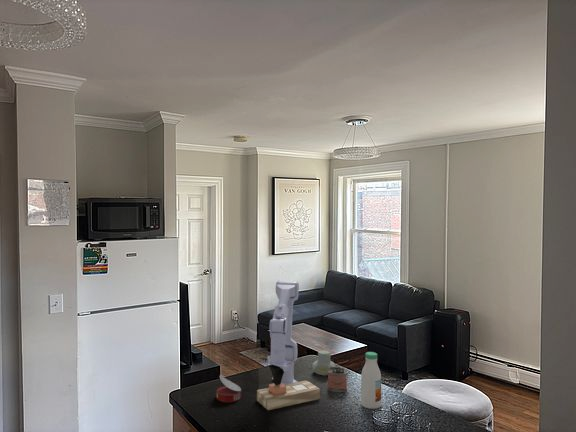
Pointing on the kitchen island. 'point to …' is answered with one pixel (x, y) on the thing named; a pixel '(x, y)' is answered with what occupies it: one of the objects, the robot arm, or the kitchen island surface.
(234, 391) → the canned food
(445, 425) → the kitchen island surface
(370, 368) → the milk bottle
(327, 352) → the pale green jug
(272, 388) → the terracotta button
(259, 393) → the button panel
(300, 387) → the grey button
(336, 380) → the lighter
